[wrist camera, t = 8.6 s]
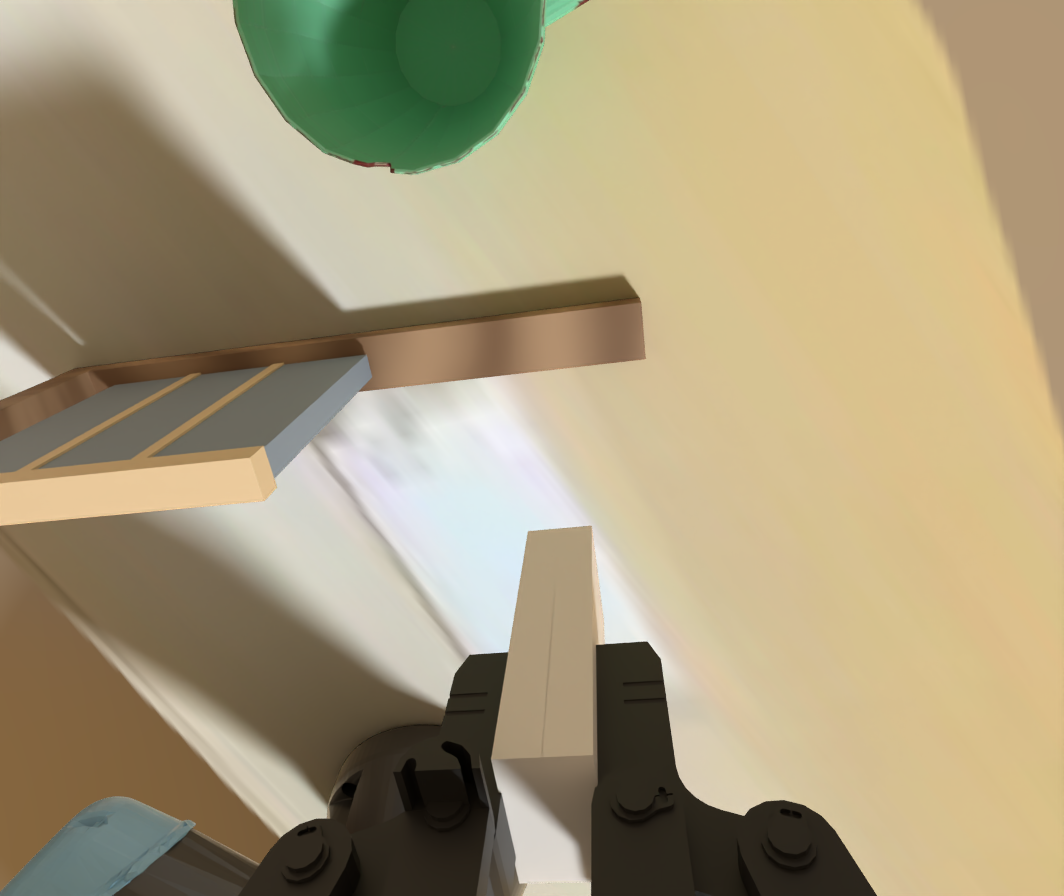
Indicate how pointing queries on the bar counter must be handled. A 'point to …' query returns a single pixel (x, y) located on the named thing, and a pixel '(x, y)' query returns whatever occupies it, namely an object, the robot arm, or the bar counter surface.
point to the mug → (396, 72)
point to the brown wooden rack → (381, 355)
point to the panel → (173, 441)
